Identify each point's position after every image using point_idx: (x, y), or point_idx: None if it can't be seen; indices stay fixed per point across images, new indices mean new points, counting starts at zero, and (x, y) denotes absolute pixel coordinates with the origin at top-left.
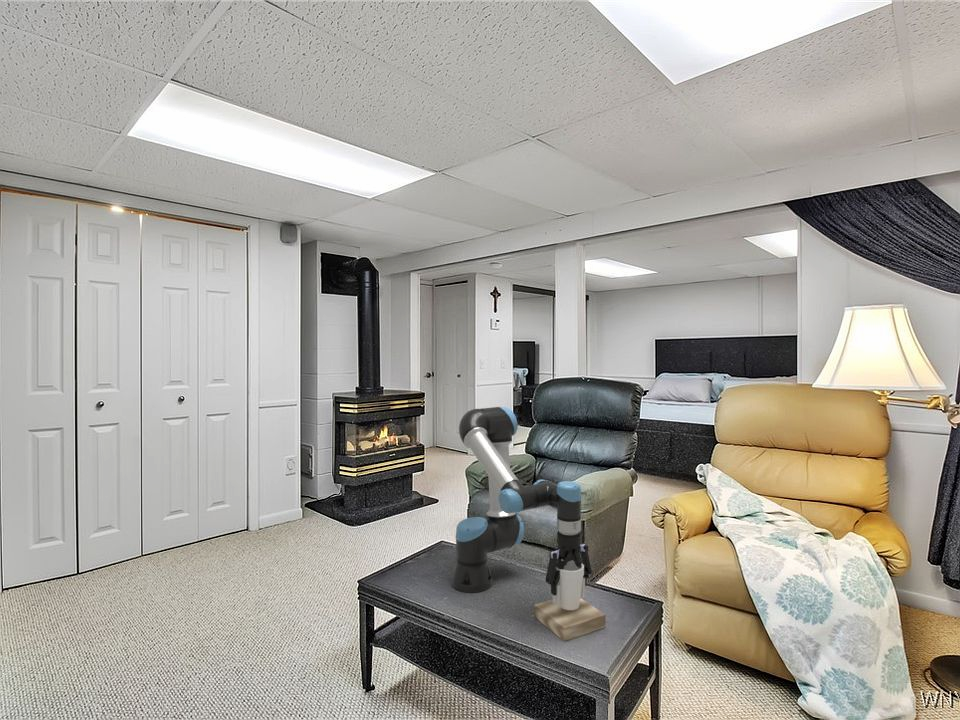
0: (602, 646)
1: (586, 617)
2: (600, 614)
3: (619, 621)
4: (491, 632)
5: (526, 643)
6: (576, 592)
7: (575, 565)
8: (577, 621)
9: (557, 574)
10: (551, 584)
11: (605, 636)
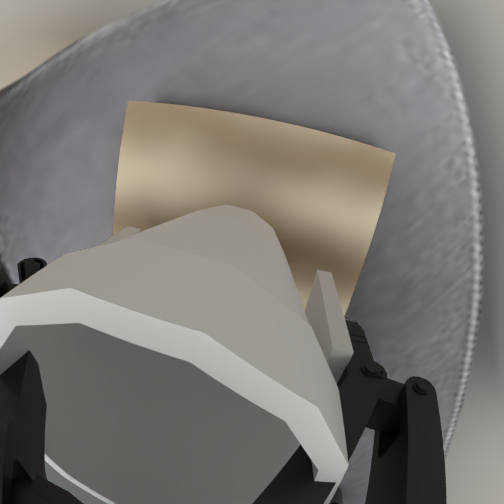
0: (281, 22)
1: (222, 138)
2: (143, 114)
3: (84, 106)
4: (472, 353)
5: (472, 246)
6: (219, 222)
7: (50, 407)
8: (294, 143)
9: (358, 440)
10: (416, 380)
11: (209, 57)
